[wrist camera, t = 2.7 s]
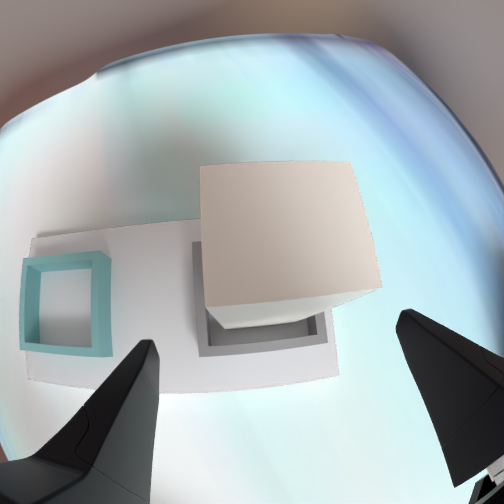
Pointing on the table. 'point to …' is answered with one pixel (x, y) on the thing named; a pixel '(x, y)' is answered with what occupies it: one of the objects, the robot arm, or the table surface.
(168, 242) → the socket board
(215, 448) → the table surface
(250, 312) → the plug
